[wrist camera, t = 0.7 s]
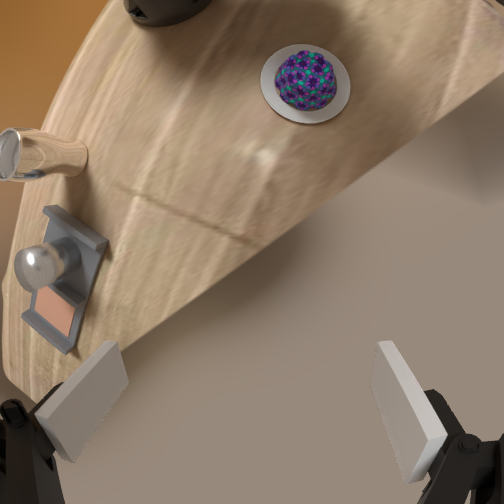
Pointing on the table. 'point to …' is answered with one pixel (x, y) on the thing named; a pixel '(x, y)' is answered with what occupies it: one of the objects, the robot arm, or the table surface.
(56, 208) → the slot rack
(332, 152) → the table surface
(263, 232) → the table surface
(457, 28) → the table surface
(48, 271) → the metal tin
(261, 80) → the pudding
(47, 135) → the beer glass
